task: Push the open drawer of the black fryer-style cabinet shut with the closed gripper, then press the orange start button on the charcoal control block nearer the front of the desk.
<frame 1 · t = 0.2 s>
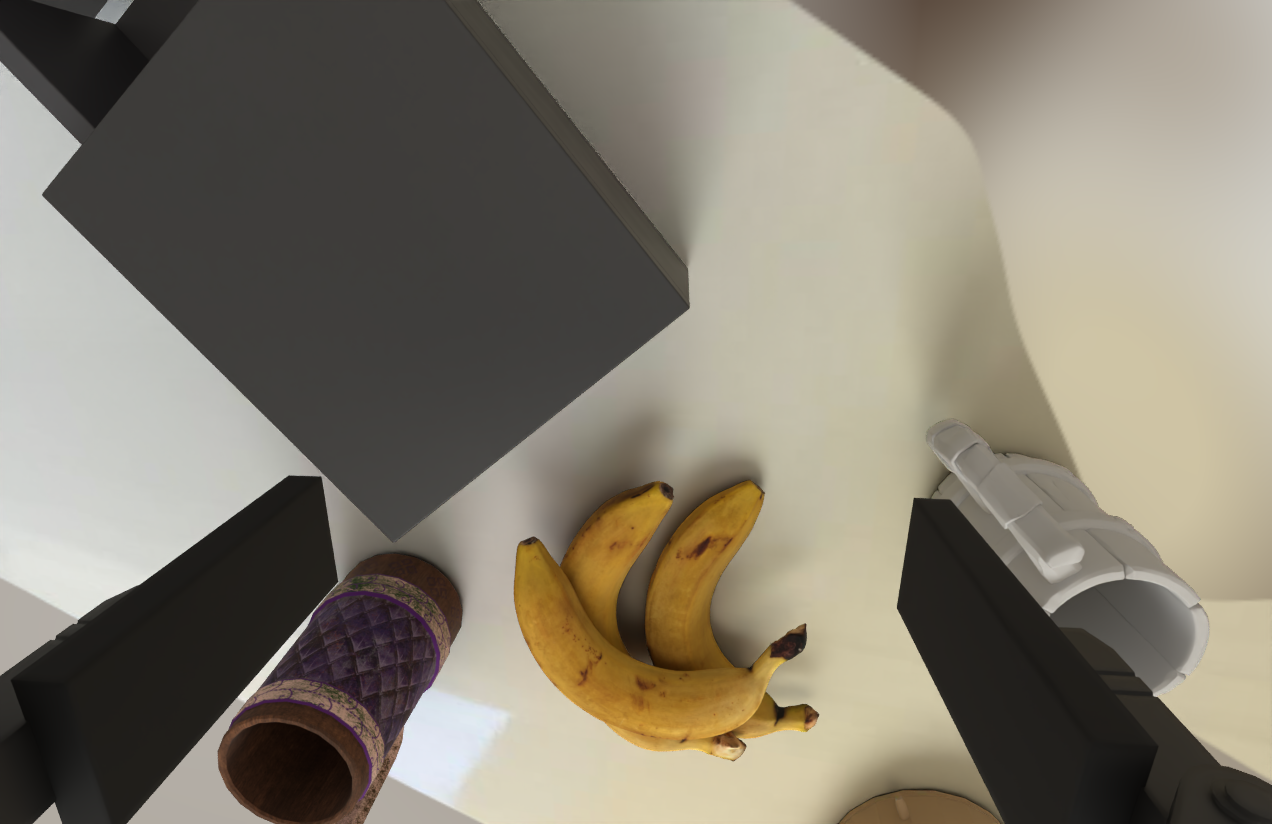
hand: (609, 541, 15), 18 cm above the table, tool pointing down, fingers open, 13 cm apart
mug: (973, 485, 33), on the table
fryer: (461, 230, 31), on the table
mug 2: (407, 625, 38), on the table
banana: (687, 593, 36), on the table
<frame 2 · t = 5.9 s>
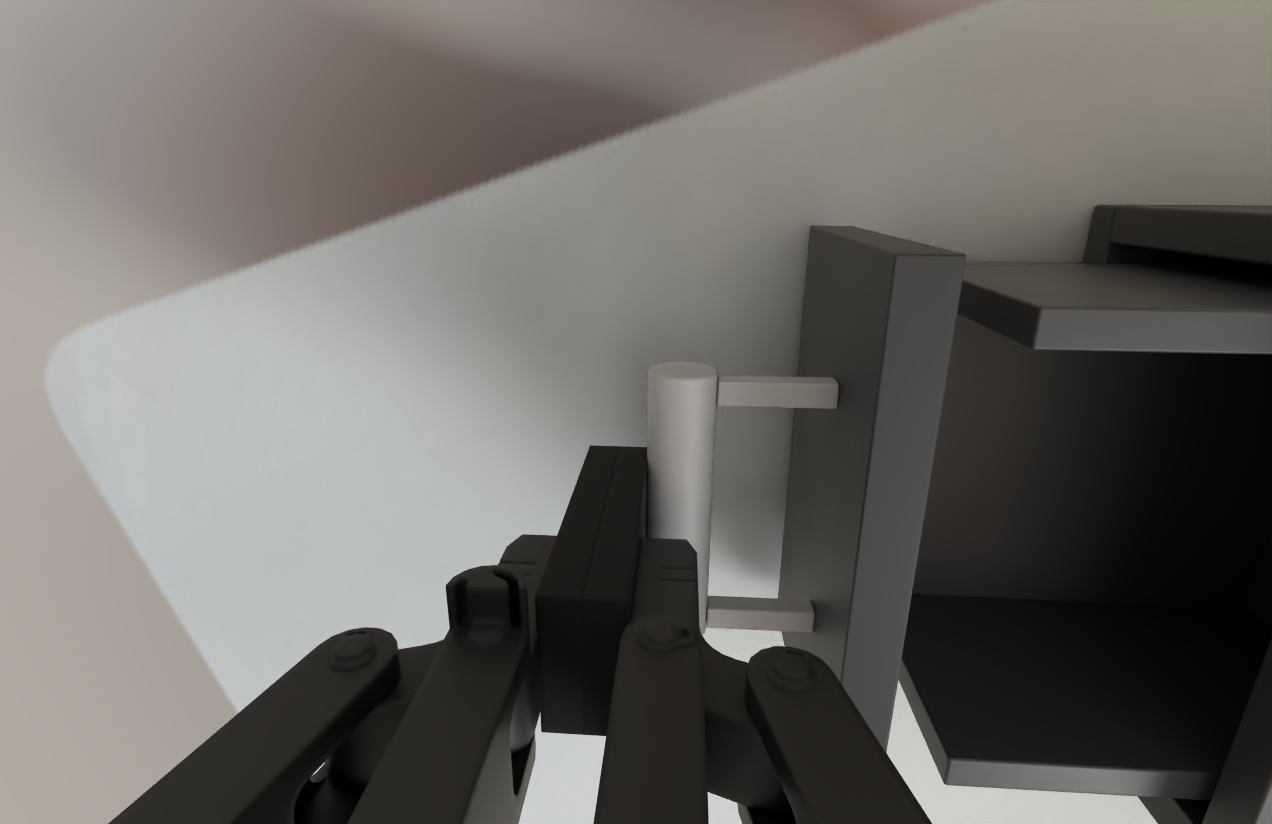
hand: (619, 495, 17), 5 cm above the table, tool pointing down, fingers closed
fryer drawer: (1024, 500, 17), point 5 cm above the table, slide at 7.0 cm, touching gripper
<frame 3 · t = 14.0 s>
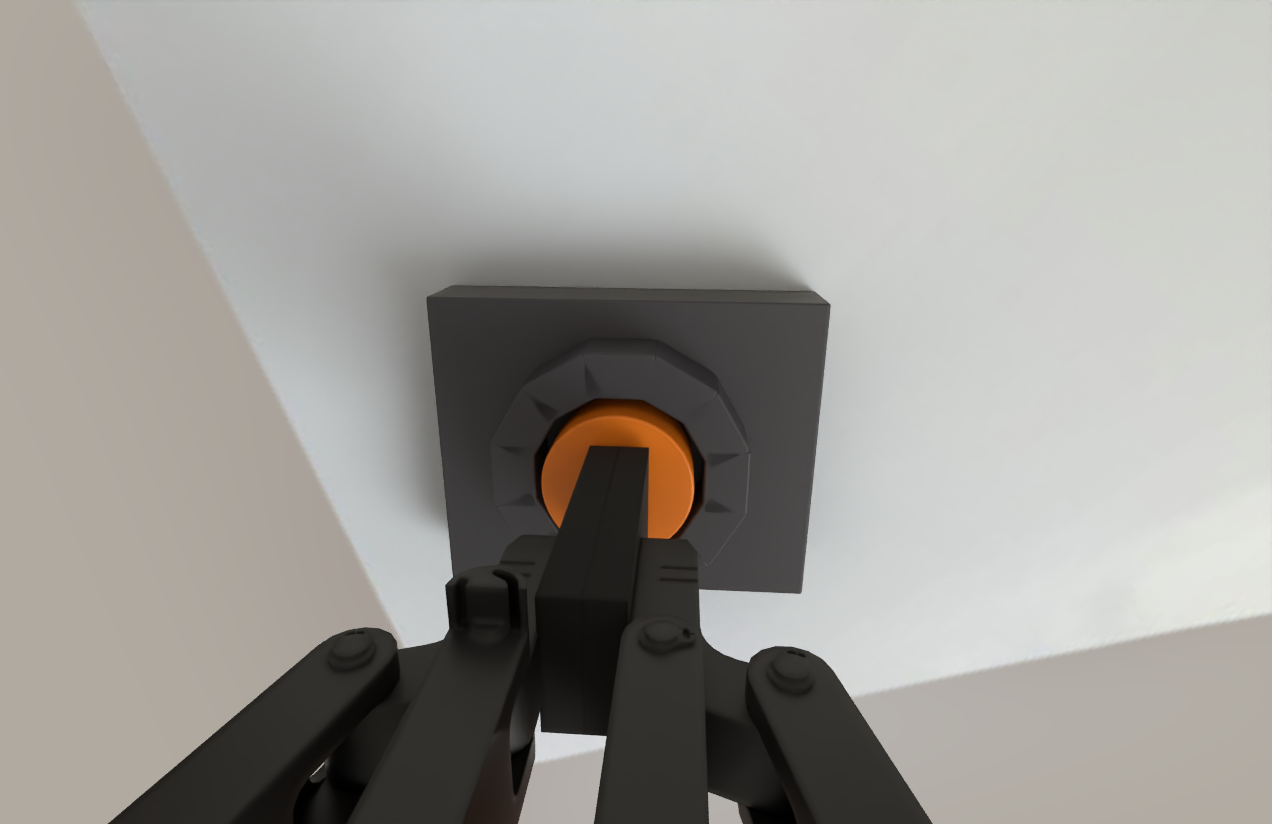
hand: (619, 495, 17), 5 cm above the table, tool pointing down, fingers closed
start button: (620, 474, 18), point 4 cm above the table, slide at -0.7 cm, touching gripper
control block: (630, 428, 22), on the table
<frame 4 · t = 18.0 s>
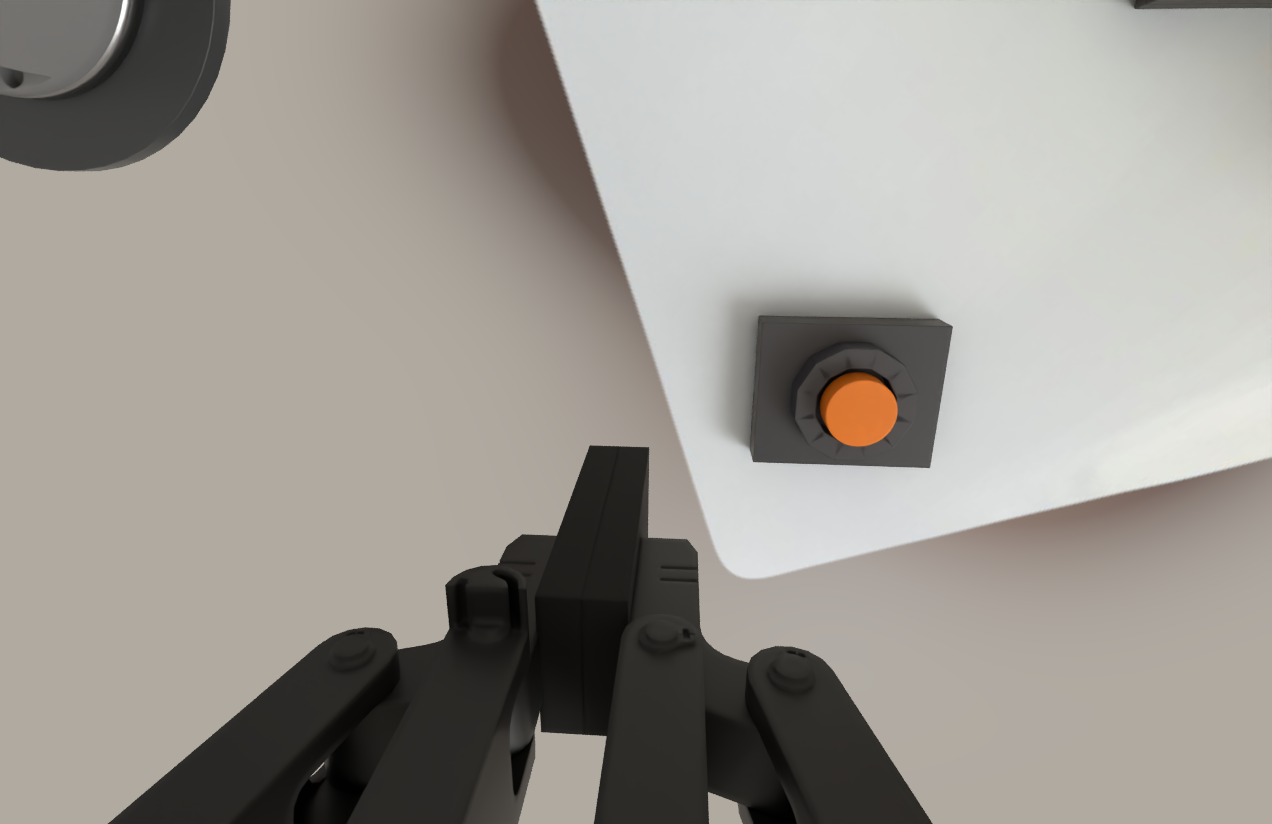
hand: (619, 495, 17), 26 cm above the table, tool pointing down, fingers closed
start button: (857, 409, 39), point 4 cm above the table, slide at 0.1 cm
control block: (840, 387, 43), on the table
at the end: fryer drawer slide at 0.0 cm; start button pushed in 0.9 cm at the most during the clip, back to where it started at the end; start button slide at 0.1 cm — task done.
